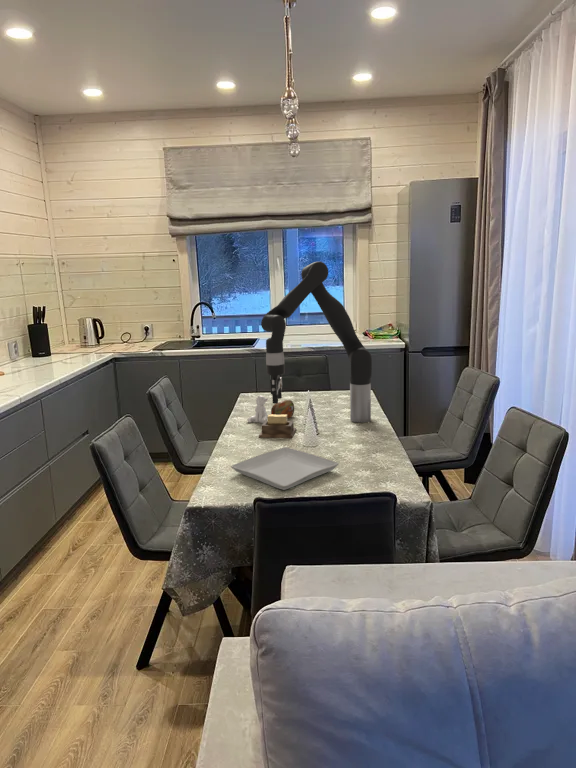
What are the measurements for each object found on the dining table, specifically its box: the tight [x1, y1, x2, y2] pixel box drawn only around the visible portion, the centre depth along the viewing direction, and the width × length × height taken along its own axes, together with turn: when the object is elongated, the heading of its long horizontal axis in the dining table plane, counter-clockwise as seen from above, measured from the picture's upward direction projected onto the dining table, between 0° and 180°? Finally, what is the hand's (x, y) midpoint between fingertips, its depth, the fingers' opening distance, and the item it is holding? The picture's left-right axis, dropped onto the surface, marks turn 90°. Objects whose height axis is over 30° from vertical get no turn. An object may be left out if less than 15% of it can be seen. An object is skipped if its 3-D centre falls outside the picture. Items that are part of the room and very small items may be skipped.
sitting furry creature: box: [246, 395, 269, 424], centre depth 258 cm, size 10×9×12 cm
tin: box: [270, 399, 295, 419], centre depth 261 cm, size 15×3×8 cm, turn 143°
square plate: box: [230, 446, 340, 491], centre depth 194 cm, size 27×27×4 cm
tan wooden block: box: [267, 414, 288, 425], centre depth 238 cm, size 8×3×7 cm, turn 81°
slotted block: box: [258, 420, 297, 439], centre depth 239 cm, size 14×12×4 cm
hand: (277, 400), depth 236 cm, fingers open, 8 cm apart
